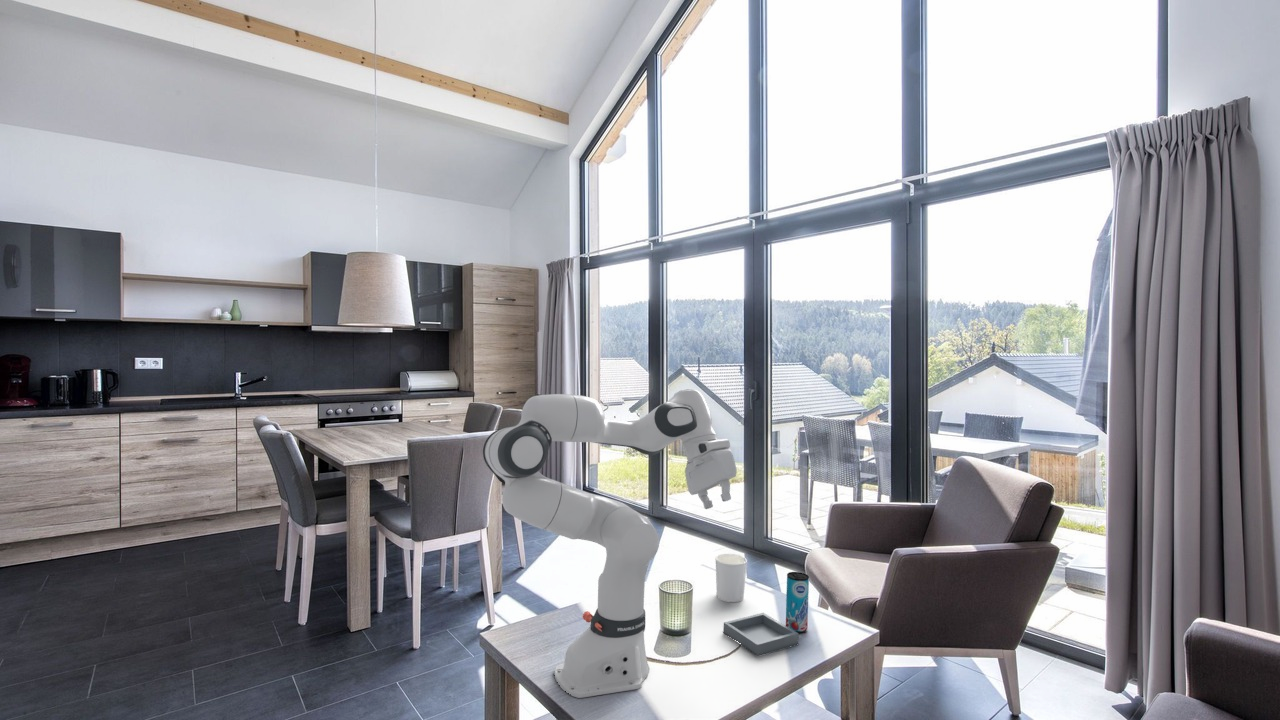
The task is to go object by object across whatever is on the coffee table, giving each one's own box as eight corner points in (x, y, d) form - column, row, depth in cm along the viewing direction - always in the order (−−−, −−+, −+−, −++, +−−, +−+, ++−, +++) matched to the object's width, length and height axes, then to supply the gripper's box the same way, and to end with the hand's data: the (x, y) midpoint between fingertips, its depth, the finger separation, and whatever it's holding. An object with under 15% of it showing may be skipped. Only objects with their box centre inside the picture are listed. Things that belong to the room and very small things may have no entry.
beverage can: (788, 633, 167) (790, 579, 166) (783, 624, 172) (784, 571, 172) (810, 634, 167) (811, 579, 167) (803, 624, 173) (805, 571, 172)
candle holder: (752, 599, 189) (753, 561, 189) (728, 605, 184) (729, 566, 184) (731, 588, 198) (732, 551, 197) (707, 594, 192) (708, 556, 192)
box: (757, 656, 154) (757, 644, 154) (723, 633, 166) (723, 622, 166) (798, 644, 161) (798, 633, 161) (763, 623, 173) (763, 612, 173)
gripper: (675, 463, 163) (688, 514, 158) (710, 441, 146) (726, 498, 141) (695, 459, 166) (709, 510, 161) (732, 437, 149) (749, 493, 144)
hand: (717, 504), depth 151 cm, fingers open, 8 cm apart
